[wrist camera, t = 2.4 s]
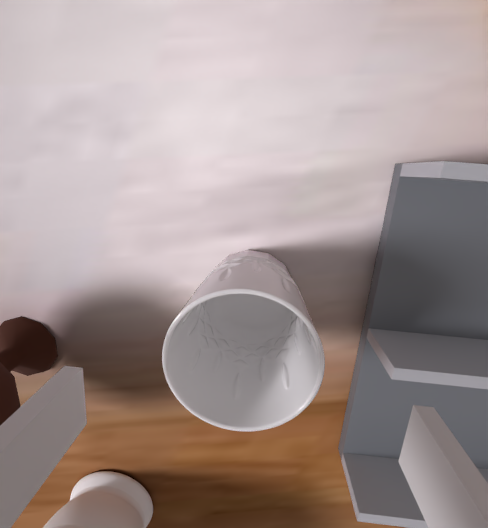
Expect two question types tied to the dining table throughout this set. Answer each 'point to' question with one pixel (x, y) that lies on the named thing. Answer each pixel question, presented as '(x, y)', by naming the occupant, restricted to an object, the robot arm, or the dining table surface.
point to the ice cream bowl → (22, 358)
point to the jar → (105, 503)
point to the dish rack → (421, 334)
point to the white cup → (244, 347)
